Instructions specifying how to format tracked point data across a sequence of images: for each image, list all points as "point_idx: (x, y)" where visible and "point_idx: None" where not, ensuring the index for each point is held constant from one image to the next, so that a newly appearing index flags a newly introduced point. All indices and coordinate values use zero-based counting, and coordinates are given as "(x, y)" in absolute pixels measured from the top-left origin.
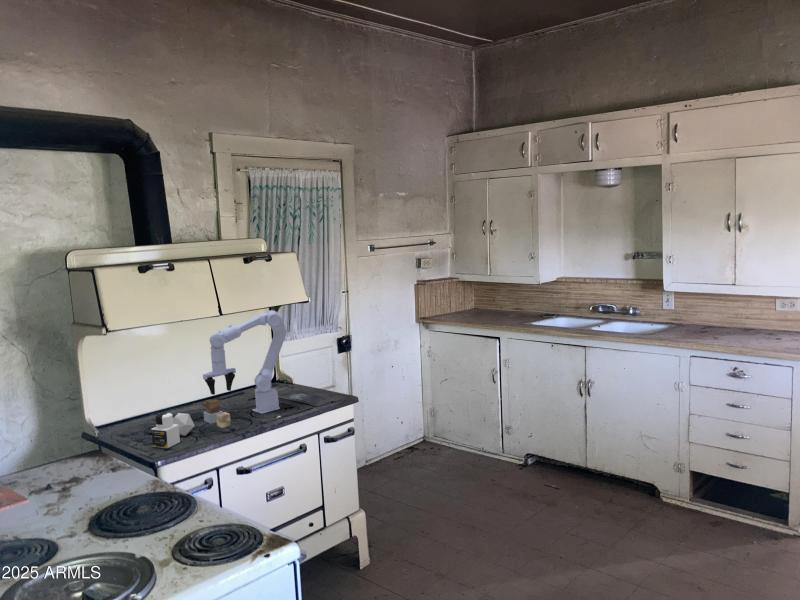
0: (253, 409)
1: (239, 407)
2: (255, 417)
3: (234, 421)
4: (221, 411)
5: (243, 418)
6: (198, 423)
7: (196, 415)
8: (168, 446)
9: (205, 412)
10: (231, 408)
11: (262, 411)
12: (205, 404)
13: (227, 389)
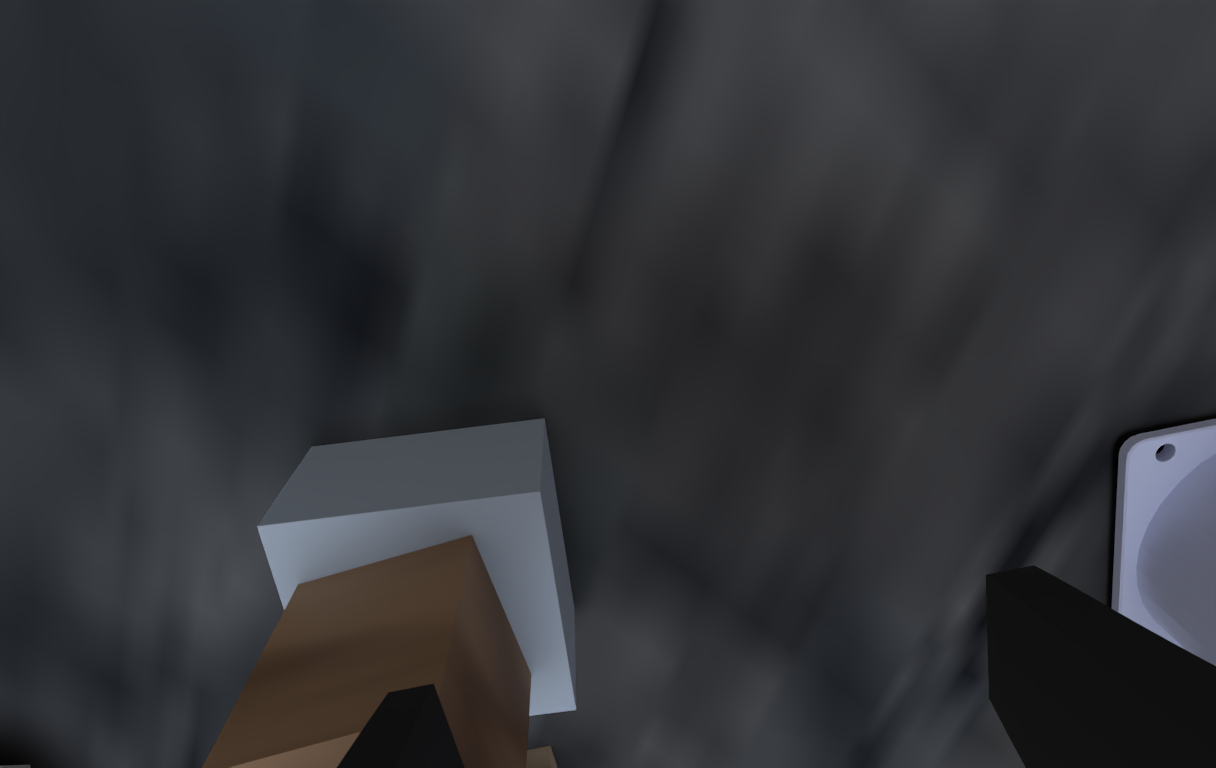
0: (1146, 458)
1: (1106, 61)
2: (961, 732)
3: (678, 728)
4: (560, 681)
5: (827, 684)
6: (205, 526)
7: (229, 15)
8: None
9: (288, 578)
10: (965, 14)
11: (1162, 629)
12: (236, 706)
13: (1000, 626)
